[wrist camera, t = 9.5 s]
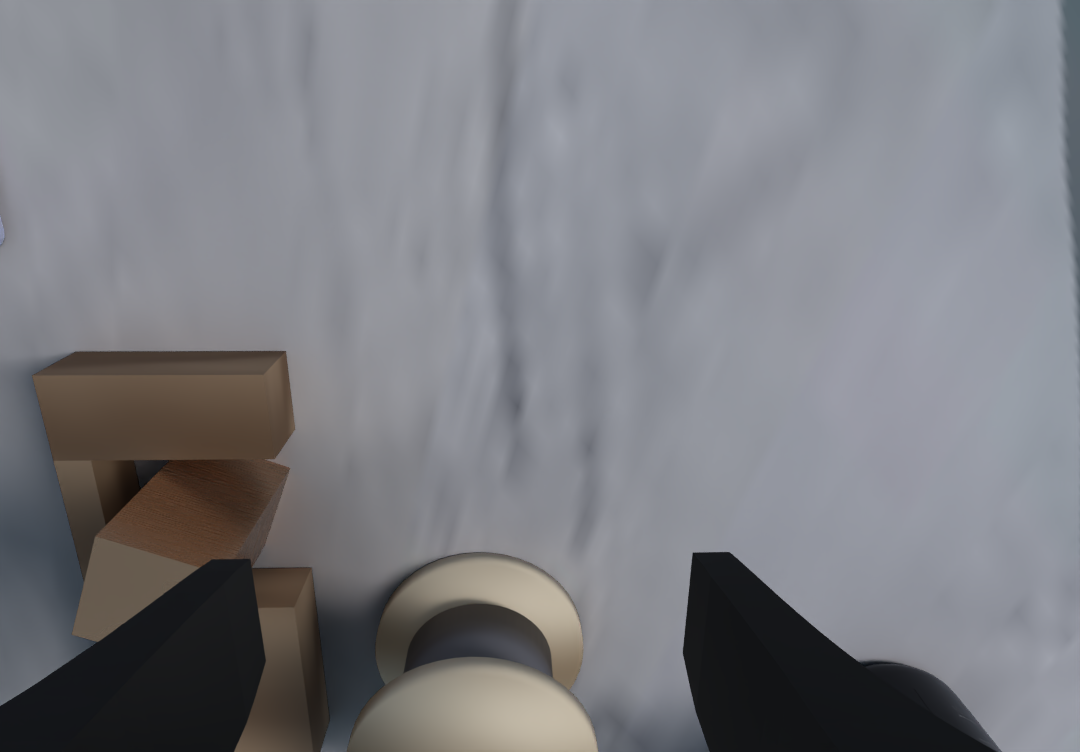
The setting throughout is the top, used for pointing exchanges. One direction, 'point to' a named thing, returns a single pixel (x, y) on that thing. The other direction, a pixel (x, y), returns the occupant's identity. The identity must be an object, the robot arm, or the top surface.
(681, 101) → the top surface
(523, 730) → the spool
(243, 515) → the brown wooden block
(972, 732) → the supplement bottle
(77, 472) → the notched board
